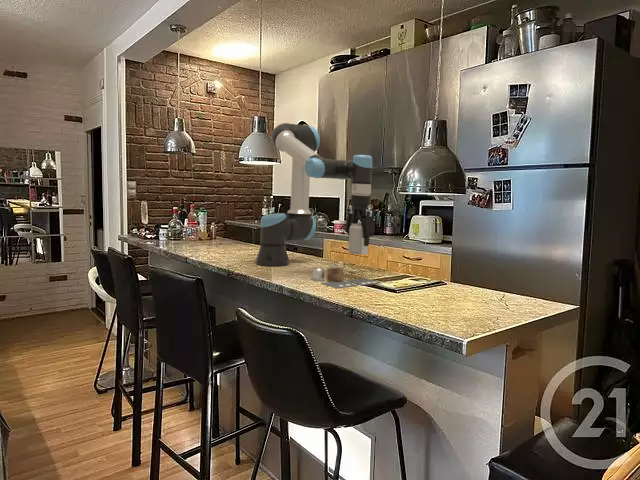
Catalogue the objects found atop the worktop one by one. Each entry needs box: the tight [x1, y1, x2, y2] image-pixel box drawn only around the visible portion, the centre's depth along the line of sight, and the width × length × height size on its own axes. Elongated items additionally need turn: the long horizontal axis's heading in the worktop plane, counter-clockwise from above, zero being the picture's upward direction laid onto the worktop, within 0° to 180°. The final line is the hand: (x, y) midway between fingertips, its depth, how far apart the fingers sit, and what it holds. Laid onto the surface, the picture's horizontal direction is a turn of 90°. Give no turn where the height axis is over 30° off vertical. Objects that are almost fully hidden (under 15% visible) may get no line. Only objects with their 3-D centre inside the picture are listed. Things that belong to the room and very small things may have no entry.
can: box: [347, 222, 363, 255], centre depth 187 cm, size 8×8×12 cm
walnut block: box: [326, 266, 345, 282], centre depth 181 cm, size 5×5×5 cm
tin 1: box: [312, 267, 325, 282], centre depth 181 cm, size 4×4×5 cm
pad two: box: [320, 280, 359, 289], centre depth 174 cm, size 10×10×1 cm
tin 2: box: [329, 265, 341, 268], centre depth 186 cm, size 4×4×5 cm
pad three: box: [344, 278, 382, 287], centre depth 180 cm, size 10×10×1 cm
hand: (357, 252), depth 188 cm, fingers closed on can, 7 cm apart
